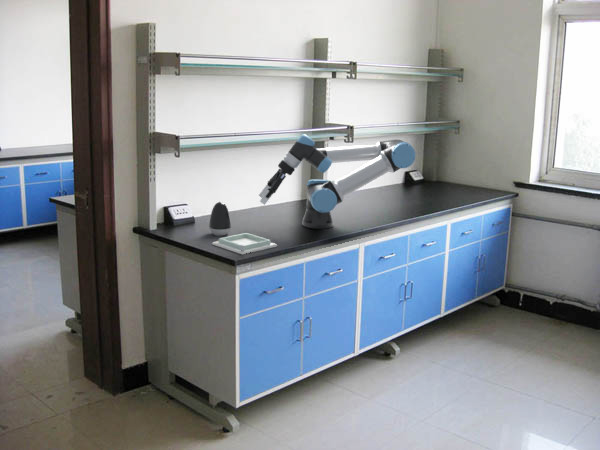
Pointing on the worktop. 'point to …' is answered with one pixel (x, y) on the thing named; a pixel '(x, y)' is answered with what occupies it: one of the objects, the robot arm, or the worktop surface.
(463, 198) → the worktop surface
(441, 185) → the worktop surface
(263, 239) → the square tray
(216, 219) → the dark grey rounded dome
